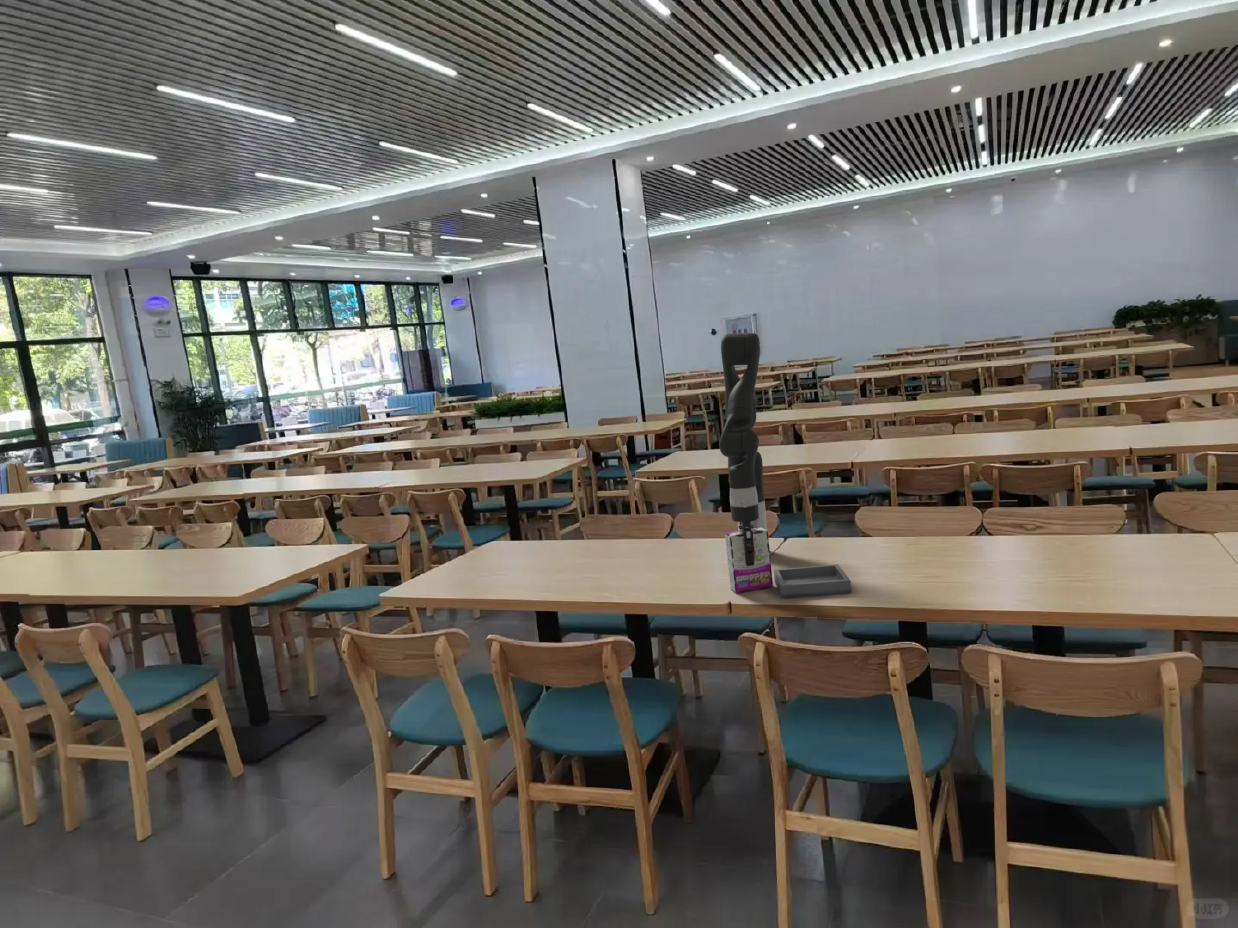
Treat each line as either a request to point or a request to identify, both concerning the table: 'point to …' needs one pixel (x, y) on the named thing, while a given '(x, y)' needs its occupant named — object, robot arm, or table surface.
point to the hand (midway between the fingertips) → (749, 562)
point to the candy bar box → (739, 572)
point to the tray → (812, 581)
